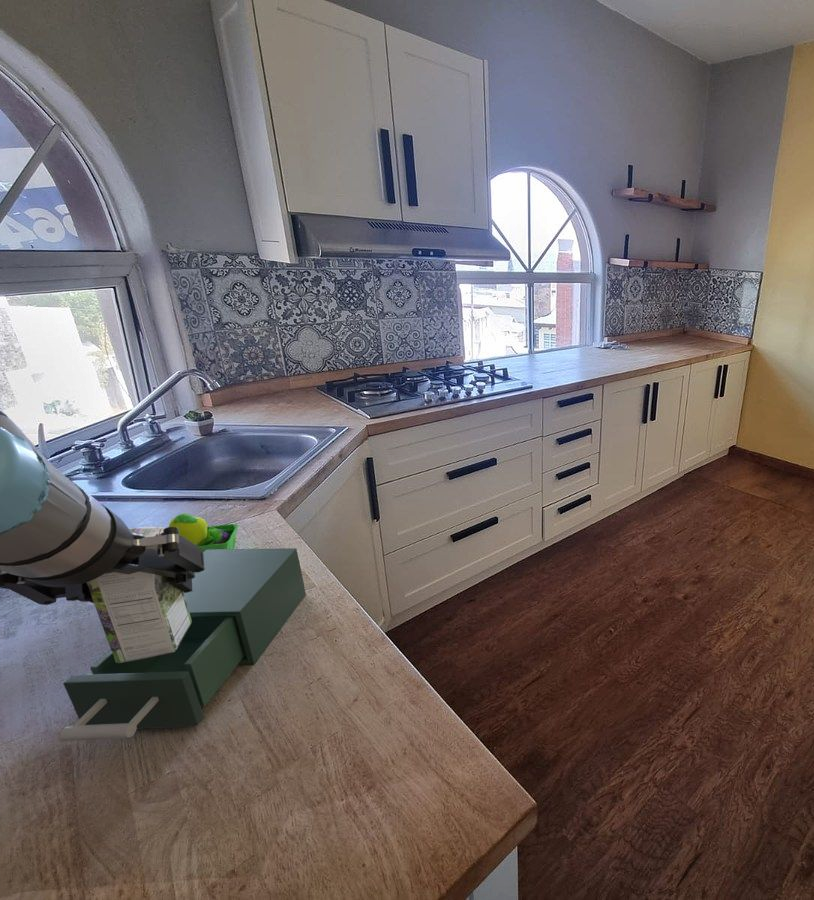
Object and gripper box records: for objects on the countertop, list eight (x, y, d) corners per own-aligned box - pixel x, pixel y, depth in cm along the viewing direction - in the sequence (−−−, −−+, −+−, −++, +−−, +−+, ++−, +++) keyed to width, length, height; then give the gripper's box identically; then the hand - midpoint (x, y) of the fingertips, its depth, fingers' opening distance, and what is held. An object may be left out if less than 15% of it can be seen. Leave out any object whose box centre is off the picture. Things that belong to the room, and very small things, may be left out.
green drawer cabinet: (254, 664, 69) (240, 611, 66) (149, 668, 68) (129, 614, 65) (306, 594, 84) (296, 548, 81) (220, 596, 83) (206, 549, 79)
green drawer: (168, 765, 55) (149, 715, 52) (44, 771, 54) (18, 721, 51) (264, 639, 73) (253, 598, 70) (172, 642, 72) (158, 600, 69)
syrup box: (138, 632, 62) (100, 531, 57) (195, 622, 64) (163, 523, 59) (115, 665, 57) (72, 557, 52) (178, 652, 60) (142, 547, 54)
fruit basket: (244, 545, 97) (231, 493, 93) (230, 570, 89) (215, 515, 85) (173, 554, 93) (156, 500, 89) (152, 582, 86) (132, 524, 82)
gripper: (193, 476, 49) (243, 542, 68) (-112, 518, 40) (44, 581, 59) (199, 549, 47) (248, 596, 65) (-125, 612, 37) (42, 646, 56)
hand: (152, 589), depth 62 cm, fingers closed on syrup box, 6 cm apart
